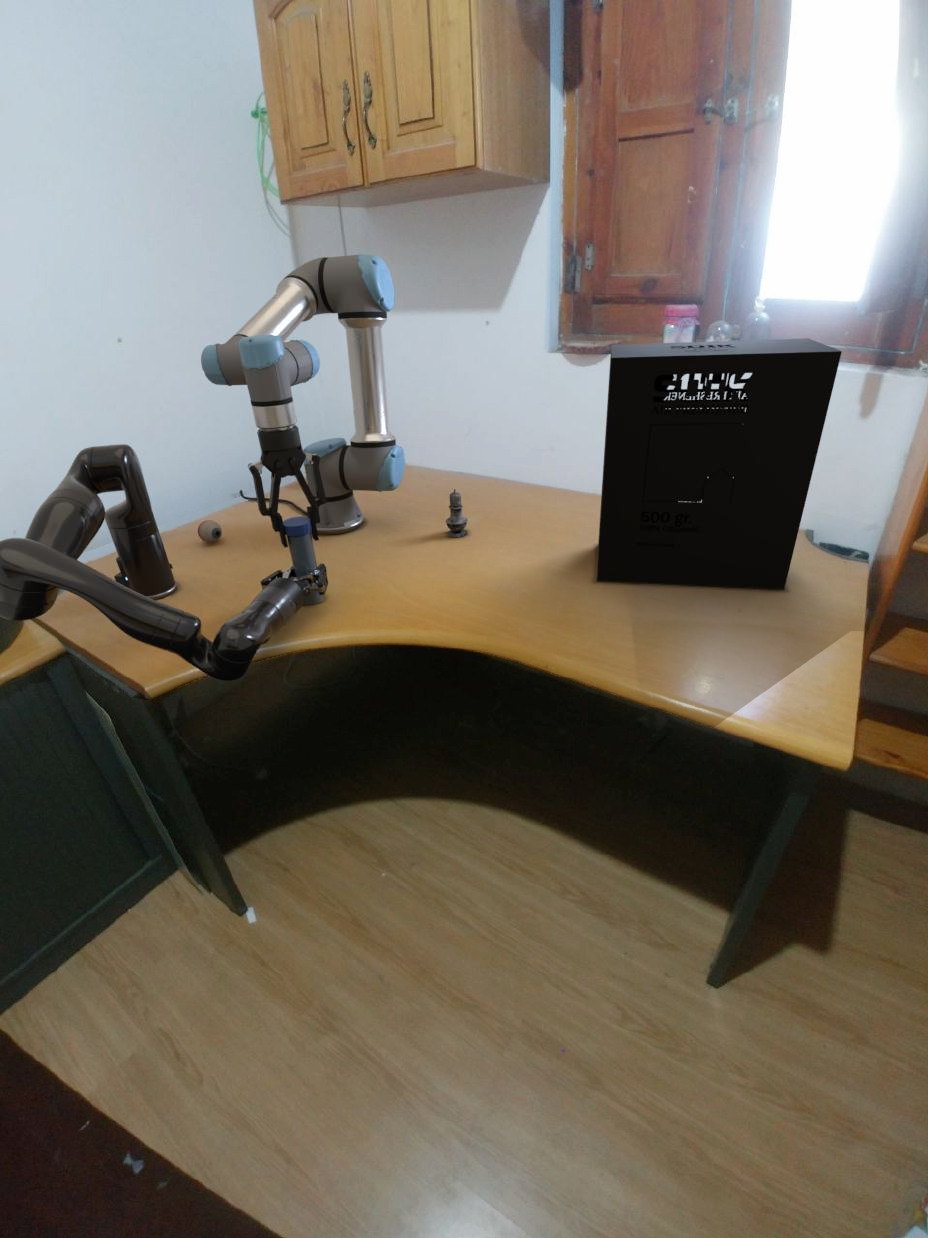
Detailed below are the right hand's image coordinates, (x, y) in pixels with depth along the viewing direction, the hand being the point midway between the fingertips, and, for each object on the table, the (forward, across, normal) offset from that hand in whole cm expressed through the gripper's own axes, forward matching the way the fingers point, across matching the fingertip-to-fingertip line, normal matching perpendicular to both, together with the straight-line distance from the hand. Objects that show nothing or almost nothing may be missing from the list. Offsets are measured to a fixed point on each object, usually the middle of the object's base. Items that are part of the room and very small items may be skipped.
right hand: (300, 541), depth 124 cm
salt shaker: (+14, -43, -16) cm, 48 cm away
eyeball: (+14, +15, -48) cm, 52 cm away
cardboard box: (+14, -78, +30) cm, 84 cm away
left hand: (+7, -2, -2) cm, 8 cm away
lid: (-4, 0, 0) cm, 4 cm away
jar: (+14, 0, 0) cm, 14 cm away
